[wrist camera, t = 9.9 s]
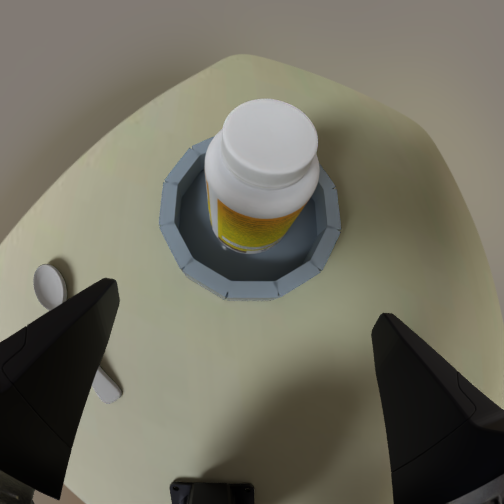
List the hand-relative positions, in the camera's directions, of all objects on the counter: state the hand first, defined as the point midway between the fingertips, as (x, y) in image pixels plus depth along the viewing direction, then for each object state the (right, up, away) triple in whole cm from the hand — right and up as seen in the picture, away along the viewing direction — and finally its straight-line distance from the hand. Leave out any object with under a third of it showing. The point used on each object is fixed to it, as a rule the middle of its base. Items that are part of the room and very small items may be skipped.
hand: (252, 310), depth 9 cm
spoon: (-14, -4, +10) cm, 17 cm away
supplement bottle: (0, +4, +12) cm, 13 cm away
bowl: (0, +4, +13) cm, 13 cm away
